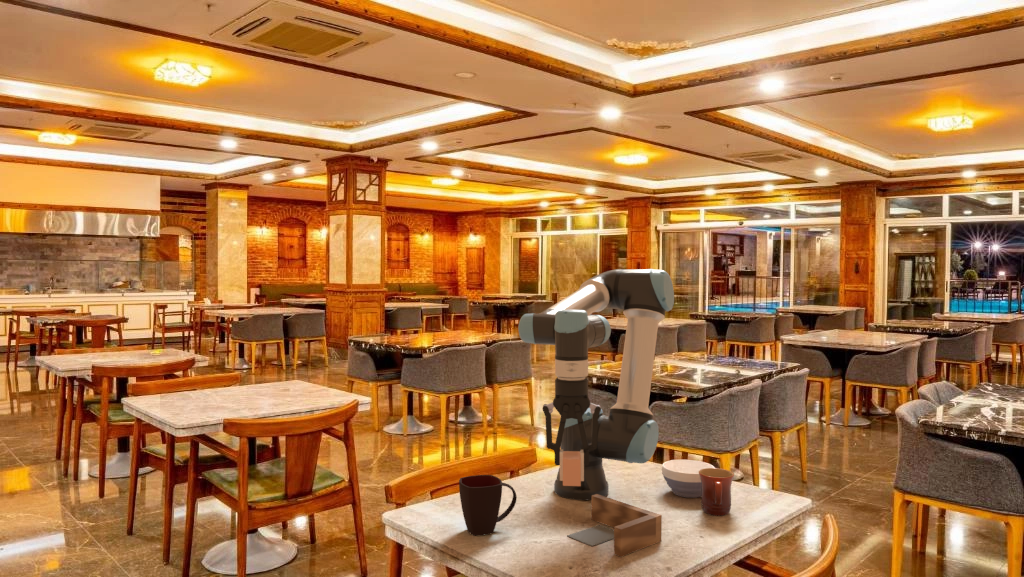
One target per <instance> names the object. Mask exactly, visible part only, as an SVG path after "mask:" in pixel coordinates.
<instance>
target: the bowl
mask: <svg viewBox="0 0 1024 577" xmlns="http://www.w3.org/2000/svg"><path fill="white" fill-rule="evenodd" d="M706 468H716V467H715V466H714V465H712V464H711V463H708V462H705V461H701V460H695V459H671V460H667V461H665V462H663V463H662V465H661V474H662V476H663V479H664V480H665V482H666V485H667V486H668V487H669V488H670V489H671V490H670V491H671V492H672V493H673V494H674V495H675V496H678V497H682V498H687V499H693V498H694V499H695V498H701V488H702V485H701V479H700V476H699V470H701V469H706Z"/></svg>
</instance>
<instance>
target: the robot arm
mask: <svg viewBox="0 0 1024 577" xmlns="http://www.w3.org/2000/svg"><path fill="white" fill-rule="evenodd" d="M674 303H675V291H674V285H673V281H672V278H671V276H670V274H669V273H668V272H667V271H665V270H663V269H654V268H646V269H643V268H642V269H641V268H639V269H638V268H637V269H634V268H631V269H627V268H626V269H623V268H621V269H620V268H619V269H618V268H617V269H612V270H607V271H604V272H602V273H599V274H597V275H594V276H593V277H590V278H589V279H587V280H584V282H582V283H581V285H580V286H579V288H578V289H577V290H576V291H574V292H572V293H570V294H569V295H568V296H566V297H565V298H563V299H560V300H559V301H558V302H556V303H555V304H553V305H551V306H550V307H548V308H546V309H544V310H542V312H540V313H534V312H531V313H524V314H523V315H522V316H521V317H520V320H519V322H518V328H517V329H518V335H519V338H520V341H522V342H524V343H525V344H532V345H547V346H549V345H550V346H554V350H555V353H554V375H555V377H556V378H555V379H554V398H553V399H552V402H550V403H544V404H543V405H542V411H543V414H544V416H545V417H544V418H545V434H546V436H545V438H546V440H545V441H546V448H547V450H552V451H553V452H554V465H555V466H559V468H558V472H557V474H556V478H555V480H554V484H553V485H554V486H553V488H554V490H553V491H554V493H555V494H556V495H557V496H559V497H562V498H565V499H570V500H578V501H579V500H580V501H590V500H591V501H592V495H595V494H598V495H602V496H605V497H607V495H609V483H608V480H607V477H606V473H605V469H604V466H603V459H605V460H612V461H617V462H618V461H620V462H624V463H629V464H633V463H634V464H646V463H647V462H649V461H650V460H651V459H652V457H653V455H654V454H655V451H656V450H657V445H658V441H659V435H660V432H659V424H658V422H657V421H655V420H654V417H653V416H654V414H653V412H652V411H651V410H650V409H649V408H650V407H649V404H650V395H651V388H652V378H653V373H654V372H653V370H654V361H655V353H656V346H657V340H658V339H657V336H658V328H659V324H660V323H661V322H662V321H663V320H665V317H666V312H669V311H672V309H673V307H674V305H675V304H674ZM609 309H612V310H614V309H615V310H623V312H622V313H623V315H624V317H625V318H626V319H627V322H626V323H627V324H626V331H625V337H624V345H623V351H622V359H621V360H622V361H621V365H620V366H621V367H620V368H621V369H620V375H619V382H618V390H617V396H616V403H615V404H614V405H613V406H611V407H610V408H609V415H605V414H604V412H603V409H602V407H601V405H600V404H595V403H592V402H591V400H590V398H589V380H588V378H587V377H588V376H589V348H596V347H598V346H601V345H603V344H605V343H607V342H608V340H609V338H610V337H611V332H612V328H611V325H610V322H609V321H608V319H607V318H606V317H605V316H603V315H600V314H593V313H600V312H601V311H603V310H609ZM554 408H555V410H556V412H557V413H558V414H559V416H560V419H559V425H558V429H557V434H556V438H555V442H553V430H552V425H553V424H552V414H553V412H554ZM563 451H580V457H581V486H563Z"/></svg>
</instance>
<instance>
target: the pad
mask: <svg viewBox="0 0 1024 577" xmlns="http://www.w3.org/2000/svg"><path fill="white" fill-rule="evenodd" d="M567 537H568V538H570V539H573V540H575V541H578V542H580V543H582V544H585V545H587V546H590V547H595V546H597V545H600V544H603V543H606V542H608V541H611V540H614V529H612V528H611V527H610V528H609V527H608V526H605V525H603V524H596V525H595V526H590V527H589V528H585V529H582V530H579V531H576V532H574V533H570V534H568V535H567Z"/></svg>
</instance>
